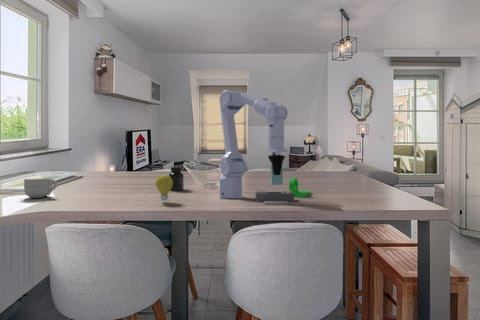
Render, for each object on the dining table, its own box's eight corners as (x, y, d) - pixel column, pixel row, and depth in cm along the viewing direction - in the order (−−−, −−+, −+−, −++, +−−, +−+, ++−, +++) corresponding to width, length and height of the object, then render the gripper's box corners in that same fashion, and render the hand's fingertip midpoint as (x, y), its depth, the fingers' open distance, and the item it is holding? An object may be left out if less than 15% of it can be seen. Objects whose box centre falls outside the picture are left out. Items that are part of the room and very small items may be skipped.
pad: (264, 204, 141) (264, 203, 141) (263, 201, 149) (263, 200, 149) (289, 204, 141) (289, 203, 141) (287, 201, 149) (287, 200, 149)
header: (256, 201, 150) (256, 191, 150) (255, 199, 157) (255, 189, 157) (294, 201, 150) (294, 191, 150) (291, 199, 157) (291, 189, 157)
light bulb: (158, 201, 150) (158, 175, 150) (153, 199, 156) (153, 174, 156) (175, 200, 153) (175, 175, 153) (169, 199, 159) (169, 174, 159)
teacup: (18, 198, 163) (17, 178, 163) (40, 195, 173) (40, 177, 173) (42, 199, 158) (42, 179, 158) (64, 196, 168) (64, 178, 168)
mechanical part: (302, 198, 163) (302, 178, 163) (289, 197, 166) (289, 178, 166) (312, 195, 173) (312, 177, 173) (299, 194, 176) (299, 177, 176)
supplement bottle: (181, 192, 188) (181, 166, 188) (185, 193, 182) (185, 167, 182) (167, 192, 185) (167, 167, 185) (171, 193, 179) (170, 167, 179)
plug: (271, 184, 143) (270, 162, 143) (270, 183, 148) (269, 162, 148) (283, 184, 143) (283, 162, 143) (281, 183, 148) (281, 162, 148)
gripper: (289, 136, 138) (289, 175, 138) (284, 138, 152) (284, 173, 153) (269, 136, 138) (269, 175, 138) (266, 138, 152) (266, 173, 153)
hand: (276, 174), depth 145 cm, fingers closed on plug, 4 cm apart
